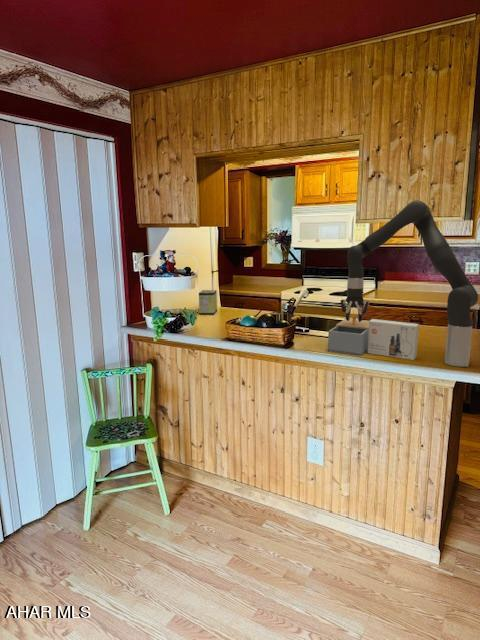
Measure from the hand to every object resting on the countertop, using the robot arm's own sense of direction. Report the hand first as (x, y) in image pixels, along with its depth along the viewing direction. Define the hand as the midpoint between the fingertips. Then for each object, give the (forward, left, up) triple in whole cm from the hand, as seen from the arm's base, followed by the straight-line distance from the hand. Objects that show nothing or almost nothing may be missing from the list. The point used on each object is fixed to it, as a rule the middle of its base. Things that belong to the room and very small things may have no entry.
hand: (353, 320), depth 211 cm
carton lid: (0, -5, -3) cm, 6 cm away
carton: (0, +6, -13) cm, 14 cm away
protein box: (+115, -39, -13) cm, 122 cm away
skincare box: (-20, +7, -13) cm, 25 cm away
